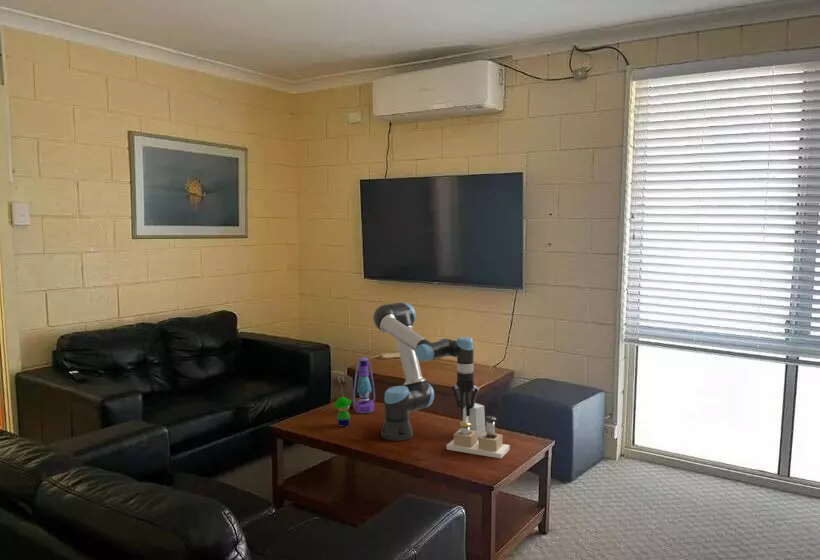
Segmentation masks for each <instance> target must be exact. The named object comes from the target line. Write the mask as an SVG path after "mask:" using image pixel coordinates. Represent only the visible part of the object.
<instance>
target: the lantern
mask: <svg viewBox="0 0 820 560" xmlns="http://www.w3.org/2000/svg"><path fill="white" fill-rule="evenodd" d="M358 361H360V362H358V363H356V367H355V374H354V381H353V383H354V384H353V391H352V392H353V393H352V395H353V396H352V401H353V408H354V412H355V413H358V414H370V413H372V412H375V409H376V408H375V406H376V405H375V403H374V402H375V400H376V390H375V389H376V388H375V384H374V377H373V368H372V364H371V363H372V362H370V361H369V358H367V357H365V356H363V357H361V358H358ZM358 370H359V371H358ZM358 376H359V377H358ZM369 376H370V377H369ZM357 378H358V380H357ZM370 379H371V381H370ZM371 384H372V385H371ZM356 393H357V394H358V401H356ZM371 393H372V399H370V395H371Z"/></svg>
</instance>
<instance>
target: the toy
mask: <svg viewBox="0 0 820 560" xmlns="http://www.w3.org/2000/svg"><path fill="white" fill-rule="evenodd" d="M333 405H334V407H335V408H336V409H338V412H337V416H336V420H337V422H338V426H339V425H343V426H349V427H350V420H351V414H350V412H349V411H348V410H354V403H353V400H351V399H349V398H347V397H345V396H342V397H341V396H340V397H339V398H338V399H337V401H336V402H335V403H334V404H333ZM343 426H342V427H343Z"/></svg>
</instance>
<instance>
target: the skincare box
mask: <svg viewBox="0 0 820 560" xmlns="http://www.w3.org/2000/svg"><path fill="white" fill-rule="evenodd" d="M470 404H471V402H470ZM465 406H466V404H465ZM465 408H466V407H465ZM485 413H486V412H485V405H482V404H481V403H477V402H475V405H474V407H473V408H472V409H470V416H468V421H469V422H471V426H470V430H473V431H477V439H478V438H479V437H480V436H481V435H482V434H483V433H485V432H486V421H485V417H486V416H485V415H486V414H485Z"/></svg>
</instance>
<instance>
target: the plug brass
mask: <svg viewBox="0 0 820 560" xmlns="http://www.w3.org/2000/svg"><path fill="white" fill-rule="evenodd" d="M470 426H471V422H469V421H468V423H466V424H465V423H463V420H462V421H460V422H459V427H461V428H460V429H461V434H465V435H469V434H470Z"/></svg>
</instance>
